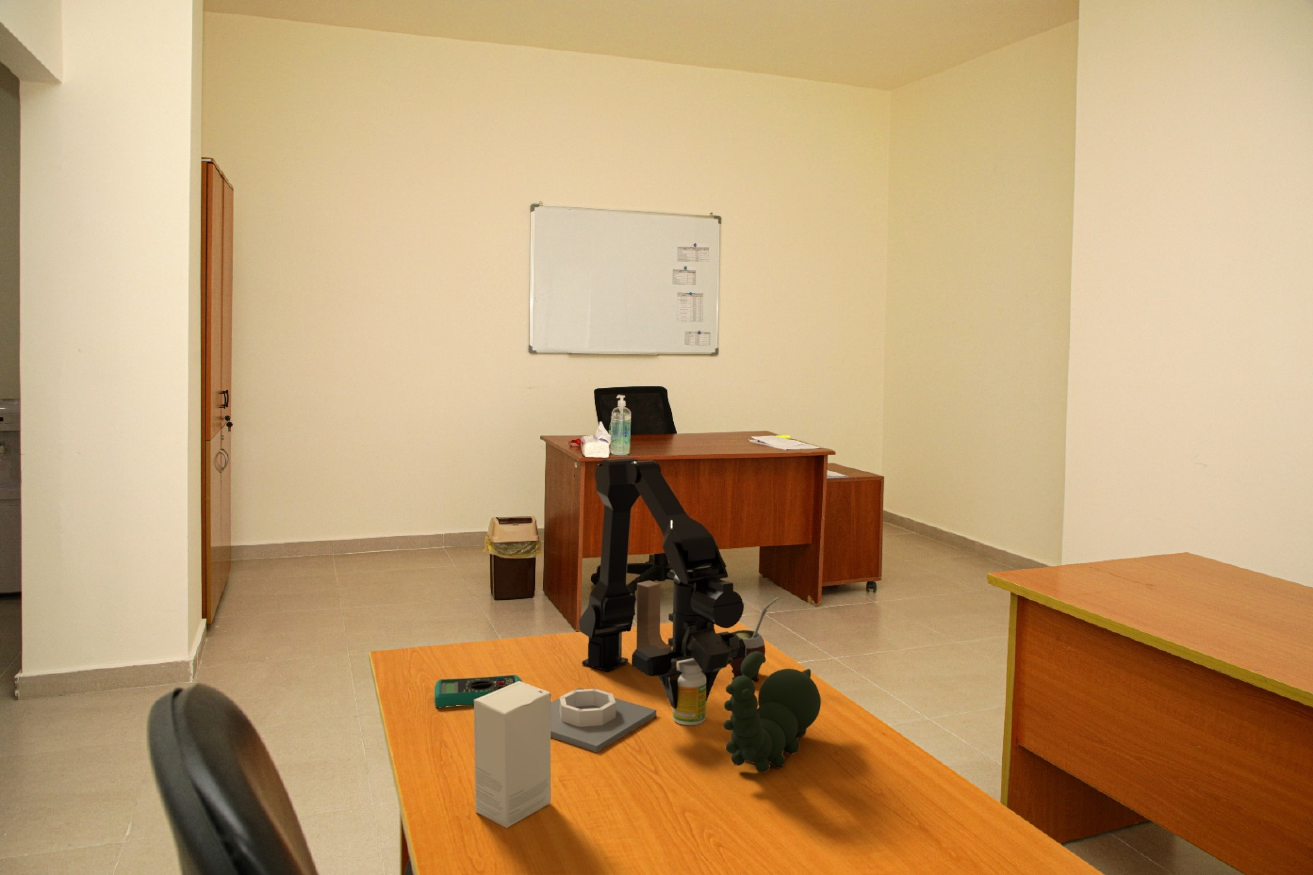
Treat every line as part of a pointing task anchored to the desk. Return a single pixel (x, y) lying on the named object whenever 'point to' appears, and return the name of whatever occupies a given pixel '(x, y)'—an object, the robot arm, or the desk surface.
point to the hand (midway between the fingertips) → (689, 704)
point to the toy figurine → (769, 713)
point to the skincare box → (512, 753)
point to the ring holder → (595, 718)
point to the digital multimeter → (469, 689)
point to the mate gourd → (750, 644)
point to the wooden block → (649, 616)
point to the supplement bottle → (690, 694)
